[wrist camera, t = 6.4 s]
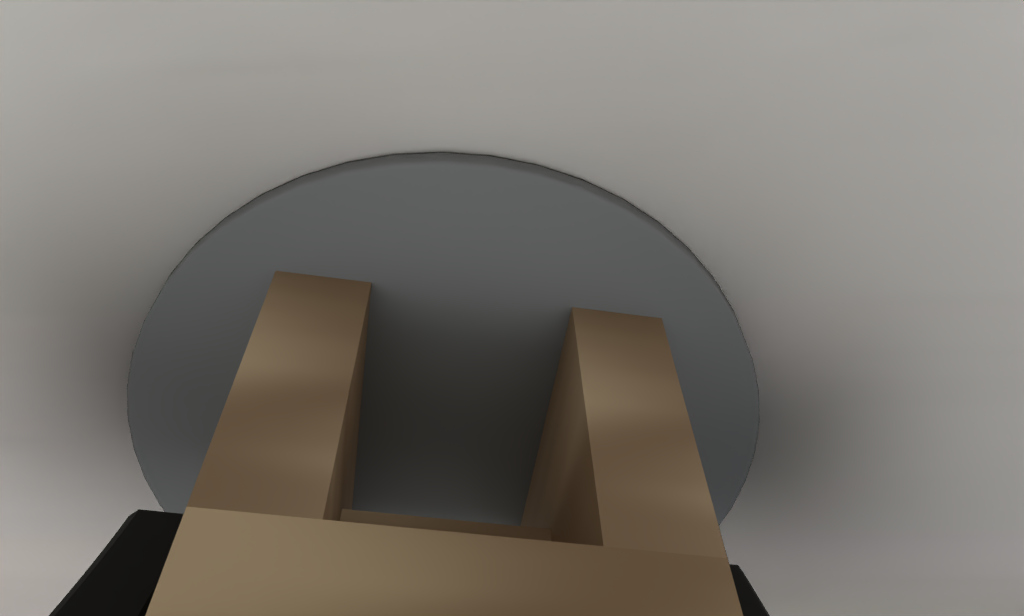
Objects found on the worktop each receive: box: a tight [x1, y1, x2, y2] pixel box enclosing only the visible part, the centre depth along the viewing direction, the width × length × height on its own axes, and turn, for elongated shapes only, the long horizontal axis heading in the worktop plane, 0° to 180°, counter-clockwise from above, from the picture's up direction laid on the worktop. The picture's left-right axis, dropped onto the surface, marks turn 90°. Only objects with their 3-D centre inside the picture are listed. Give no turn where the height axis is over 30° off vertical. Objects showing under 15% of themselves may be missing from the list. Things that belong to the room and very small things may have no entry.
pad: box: [127, 153, 759, 526], centre depth 13 cm, size 9×9×1 cm
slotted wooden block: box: [145, 271, 743, 616], centre depth 11 cm, size 5×5×6 cm
